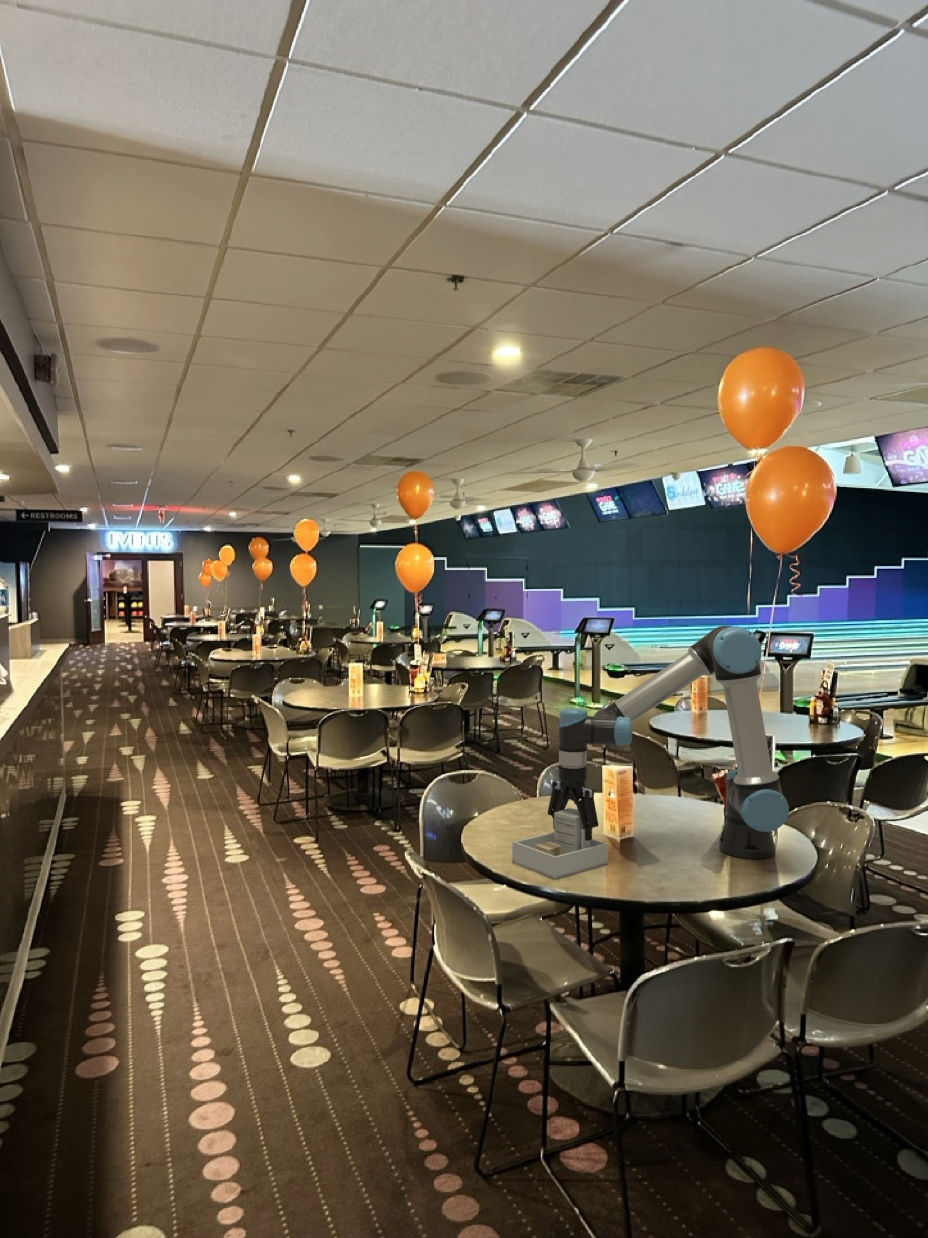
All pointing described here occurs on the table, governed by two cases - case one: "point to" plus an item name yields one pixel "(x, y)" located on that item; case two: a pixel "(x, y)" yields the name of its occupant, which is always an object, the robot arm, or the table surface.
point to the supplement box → (568, 830)
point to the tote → (558, 857)
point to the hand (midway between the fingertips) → (572, 847)
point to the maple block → (550, 848)
